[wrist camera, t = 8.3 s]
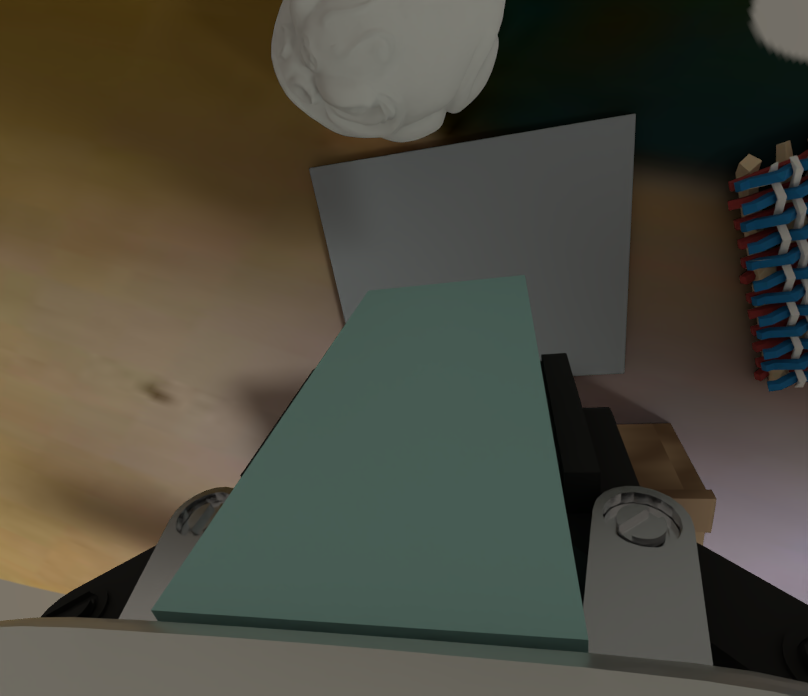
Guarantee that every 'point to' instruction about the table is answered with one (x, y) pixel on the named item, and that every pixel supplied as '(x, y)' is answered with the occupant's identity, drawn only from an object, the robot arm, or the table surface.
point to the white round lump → (385, 61)
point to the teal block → (403, 488)
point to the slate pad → (498, 227)
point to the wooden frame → (669, 471)
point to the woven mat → (776, 262)
